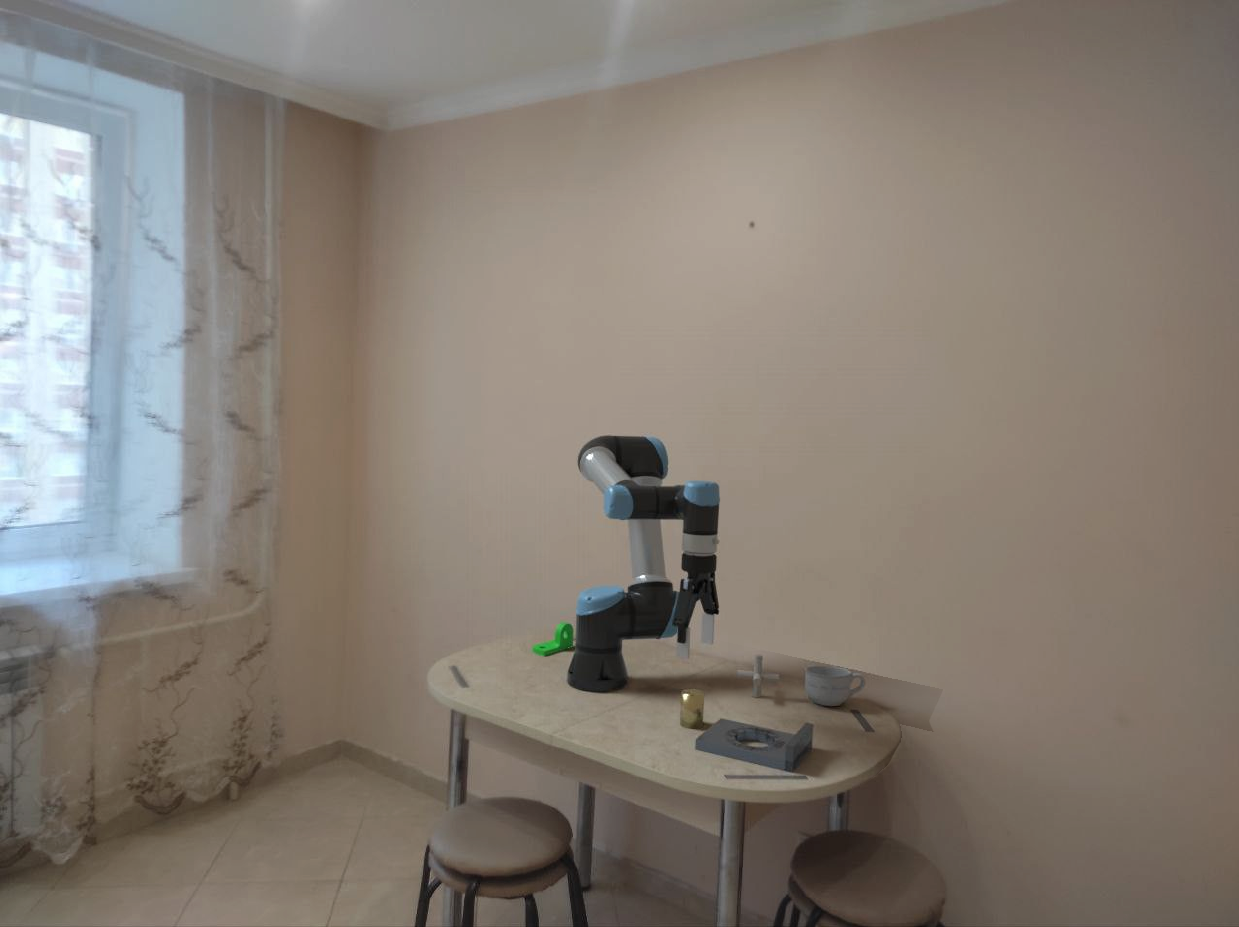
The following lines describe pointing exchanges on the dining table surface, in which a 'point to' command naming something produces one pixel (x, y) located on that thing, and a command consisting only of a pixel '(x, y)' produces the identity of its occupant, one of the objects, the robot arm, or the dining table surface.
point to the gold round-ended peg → (692, 708)
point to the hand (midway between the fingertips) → (695, 650)
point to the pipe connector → (757, 676)
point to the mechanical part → (556, 641)
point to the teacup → (830, 684)
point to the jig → (779, 753)
